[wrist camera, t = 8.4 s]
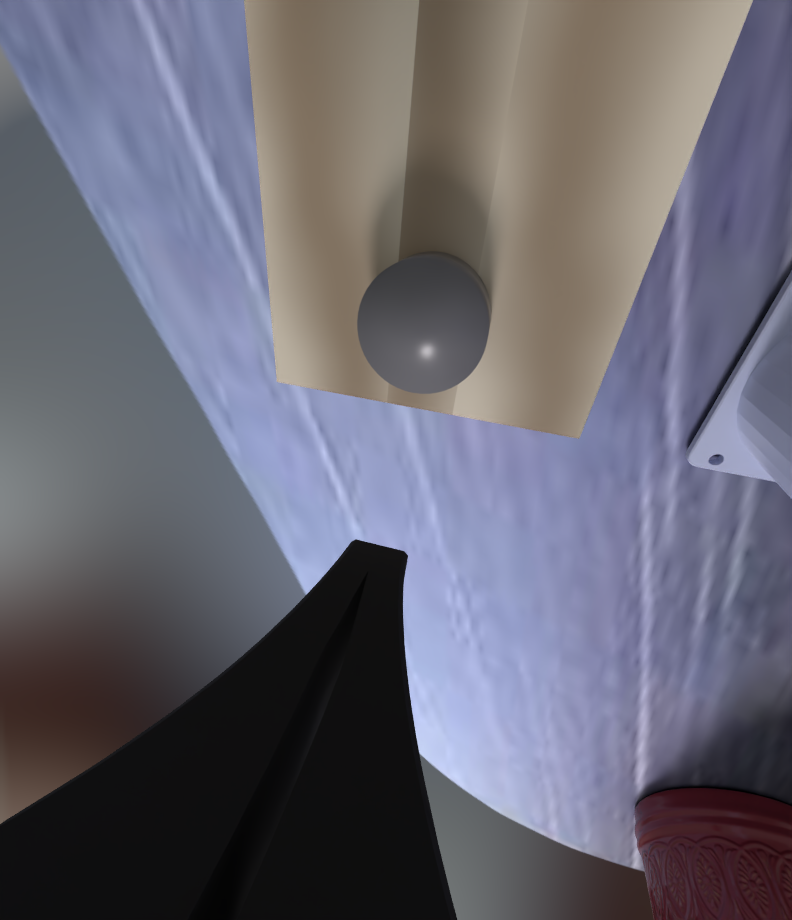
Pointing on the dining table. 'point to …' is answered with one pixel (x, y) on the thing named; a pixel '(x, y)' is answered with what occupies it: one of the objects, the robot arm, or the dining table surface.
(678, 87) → the mount board
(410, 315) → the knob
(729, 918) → the canister
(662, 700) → the dining table surface
